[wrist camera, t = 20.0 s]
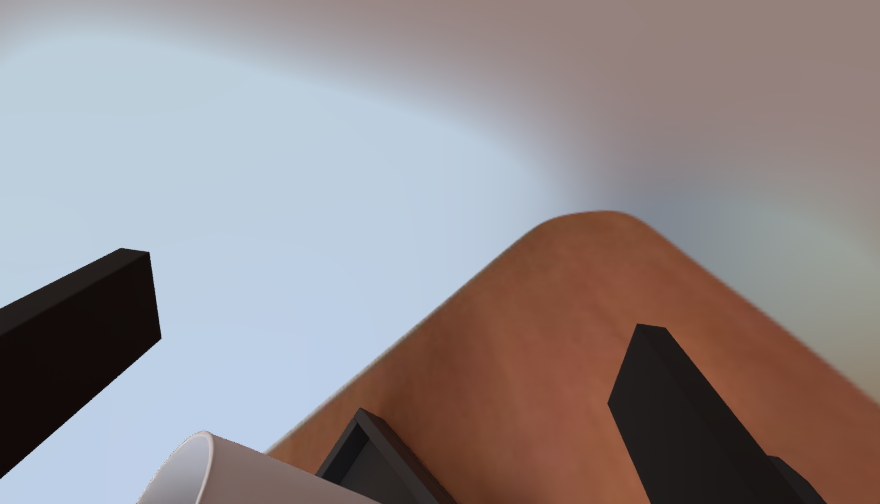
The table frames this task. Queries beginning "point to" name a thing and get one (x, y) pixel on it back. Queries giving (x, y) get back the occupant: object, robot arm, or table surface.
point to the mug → (237, 478)
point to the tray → (380, 465)
